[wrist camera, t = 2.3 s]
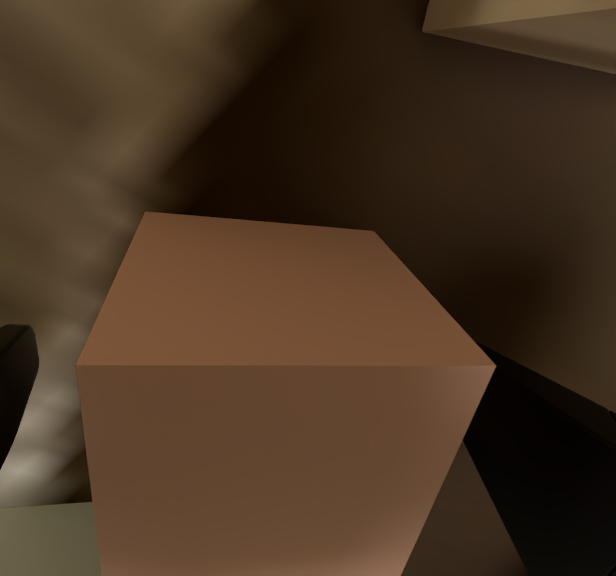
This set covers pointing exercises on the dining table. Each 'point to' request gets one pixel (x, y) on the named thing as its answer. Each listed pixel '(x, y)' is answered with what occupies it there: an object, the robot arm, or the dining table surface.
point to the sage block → (49, 541)
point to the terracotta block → (269, 402)
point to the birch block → (533, 28)
